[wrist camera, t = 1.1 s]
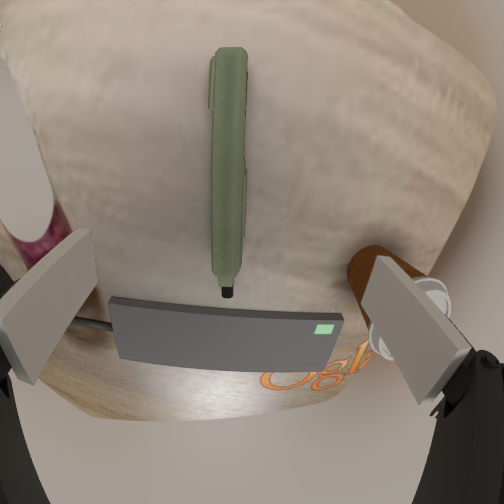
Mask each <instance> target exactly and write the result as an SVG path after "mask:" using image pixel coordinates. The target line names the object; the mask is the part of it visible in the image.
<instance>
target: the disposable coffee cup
mask: <svg viewBox="0 0 504 504" xmlns="http://www.w3.org/2000/svg"><path fill="white" fill-rule="evenodd" d="M377 255H378V256H388V257H391V258H392V259H393V260H394V261H395V262H396V263H397V264H398V265H399V266H400V267H401V268H402V269H403V270H404V271H405V272H406V273H407V274H408V275H409V276H410V277H411V279H412V280H413V281H414V282H415V283H416V284H417V285H418V286H419V287H420V288H421V289H422V290H423V291H424V292H425V293H426V294H427V296H428V297H429V298H430V299H431V300H432V301H433V302H434V303H435V304H436V305H437V307H438V308H439V309H440V310H441V311H442V312H443V313H444V314H445V315H446V316H447V317H448V318H449V317H450V313H451V301H450V298H449V296H448V292H447V289H446V287H445V285H444V284H443V283H442V282H441V281H439V280H438V279H436V278H430V277H427V276H426V275H424V274H423V273H421V272H420V271H418V270H417V269H415V268H414V267H412V266H410V265H409V264H407V263H406V262H404V261H403V260H401V259H400V258H398V257H397V256H395V255H394V254H392V253H390V252H389V251H387V250H386V249H384V248H382V247H380V246H370V247H366V248H364V249H362V250H361V251H359V252H358V253H357V254H356V255H355V256H354V257H353V259H352V260H351V262H350V264H349V267H348V272H347V277H348V280H349V283H350V285H351V287H352V290H353V292H354V295H355V297H356V300H357V302H358V304H359V307H360V309H361V312H362V315H363V317H364V320H365V322H366V325H367V328H368V330H369V335H368V337H369V343H370V345H371V347H372V349H373V350H374V351H375V352H376V353H378V354H380V355H382V356H383V357H384V358H386V359H388V360H393V361H394V359H393V357H392V355H391V354H390V352H389V350H388V348H387V347H386V345H385V343H384V342H383V340H382V338H381V337H380V335H379V333H378V331H377V330H376V328H375V326H374V325H373V323H372V322H371V320H370V318H369V317H368V315H367V313H366V312H365V310H364V308H363V307H362V305H361V301H362V298H363V296H364V293H365V290H366V287H367V284H368V282H369V279H370V276H371V273H372V270H373V267H374V264H375V261H376V257H377Z"/></svg>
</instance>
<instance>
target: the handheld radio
mask: <svg viewBox="0 0 504 504" xmlns="http://www.w3.org/2000/svg"><path fill="white" fill-rule="evenodd" d="M247 61H248V55H247V52H246V50H244V49H243V48H242V47H225V48H219V49H218V50H217V52H216V53H215V56H213V57H212V59H211V61H210V74H209V95H208V107H209V109H210V110H211V111H212V148H211V248H212V271H213V273H214V275H215V276H218V282H219V286H222V297H223V298H231V297H233V279H234V277H235V276H236V275H237V274H238V272H239V269H240V266H241V262H242V240H243V238H244V237H245V214H246V187H247V170H246V168H245V157H244V143H245V116H246V99H247V96H246V94H247V77H248V72H247Z"/></svg>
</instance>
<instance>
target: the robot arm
mask: <svg viewBox="0 0 504 504" xmlns="http://www.w3.org/2000/svg"><path fill="white" fill-rule="evenodd" d="M97 283H98V281H97V274H96V267H95V260H94V252H93V243H92V233H91V229H79V228H77V229H76V230H75V231H74V232H72V233H71V234H70V235H69V236H67V237H66V238H65V239H64V240H63V241H61V242H60V243H59V244H58V245H57V246H56V247H54V248H53V249H52V250H51V251H50V252H49V253H48V254H46V255H45V256H44V257H43V258H42V259H41V260H40V261H39V262H38V263H36V264H35V265H34V266H33V267H32V268H31V269H30V270H29V271H28V272H27V273H26V274H25V275H24V276H23V277H22V278H20V279H18V280H16V281H15V282H12V280H11V279H10V277H9V276H8V275H7V273H6V272H5V271H4V269H3V268H2V267H1V266H0V504H50V502H49V500H48V498H47V496H46V494H45V491H44V489H43V487H42V484H41V482H40V480H39V477H38V475H37V472H36V470H35V467H34V465H33V462H32V459H31V457H30V453H29V451H28V448H27V444H26V441H25V438H24V435H23V431H22V428H21V424H20V420H19V416H18V412H17V408H16V403H15V398H14V393H13V388H12V382H11V379H10V377H9V375H8V372H9V370H10V369H11V367H12V369H13V371H14V372H15V374H16V376H17V378H18V379H19V380H22V381H24V382H26V383H29V384H31V385H34V384H35V382H36V380H37V379H38V377H39V375H40V373H41V371H42V370H43V368H44V366H45V364H46V362H47V361H48V359H49V357H50V355H51V354H52V352H53V350H54V349H55V347H56V345H57V344H58V342H59V340H60V339H61V337H62V336H63V334H64V332H65V331H66V329H67V328H68V326H69V324H70V323H71V321H72V320H73V318H74V317H75V315H76V314H77V312H78V311H79V309H80V308H81V306H82V305H83V303H84V302H85V300H86V299H87V297H88V296H89V295H90V293H91V292H92V290H93V289H94V287H95V286H96V285H97ZM361 305H362V307H363V308H364V310H365V312H366V313H367V315H368V317H369V318H370V320H371V322H372V323H373V325H374V326H375V328H376V330H377V331H378V333H379V335H380V337H381V338H382V340H383V342H384V343H385V345H386V347H387V348H388V350H389V352H390V354H391V355H392V357H393V359H394V361H395V362H396V364H397V366H398V368H399V369H400V371H401V373H402V375H403V377H404V379H405V380H406V382H407V384H408V386H409V388H410V390H411V392H412V394H413V395H414V397H415V399H416V401H417V403H418V405H422V404H425V403H429V402H433V401H434V399H435V398H436V397H437V396H438V394H439V393H440V392H441V391H442V392H443V394H444V395H445V396H444V398H443V399H442V400H441V401H440V402H439V404H438V405H437V406H436V407H435V408H434V409H433V411H432V412H431V414H430V416H433V415H434V413H435V412H436V411H438V414H437V416H436V417H435V418H437V422H436V427H435V431H434V435H433V439H432V443H431V447H430V451H429V454H428V458H427V462H426V465H425V468H424V471H423V474H422V477H421V480H420V483H419V486H418V489H417V491H416V494H415V497H414V499H413V502H412V504H504V364H503V363H499V360H498V359H497V358H496V357H495V356H494V355H493V354H492V353H489V352H488V351H485V350H479V351H477V352H476V351H475V350H474V348H473V347H472V346H471V344H470V343H469V342H468V341H467V339H466V338H465V337H464V336H463V334H462V333H461V332H460V331H458V328H457V327H456V326H455V325H454V324H453V323H452V322H451V320H450V319H449V318H448V317H447V316H446V315H445V314H444V313H443V312H442V311H441V310H440V309H439V308H438V307H437V305H436V304H435V303H434V302H433V301H432V300H431V299H430V298H429V297H428V296H427V294H426V293H425V292H424V291H423V290H422V289H421V288H420V287H419V286H418V285H417V284H416V283H415V282H414V281H413V280H412V279H411V277H410V276H409V275H408V274H407V273H406V272H405V271H404V270H403V269H402V268H401V267H400V266H399V265H398V264H397V263H396V262H395V261H394V260H393V259H392V258H391V257H388V256H378V255H377V257H376V261H375V264H374V267H373V270H372V273H371V276H370V279H369V282H368V284H367V287H366V290H365V293H364V296H363V298H362V301H361Z"/></svg>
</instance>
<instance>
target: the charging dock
mask: <svg viewBox="0 0 504 504" xmlns="http://www.w3.org/2000/svg"><path fill="white" fill-rule="evenodd" d="M108 307H109V312H110V318H111V322H112V324H107V323H102V322H96V321H90V320H85V319H80V318H75V317H74V318H73V320H72V321H71V323H70V324H75V325H80V326H85V327H90V328H95V329H101V330H106V331H112V332H114V336H115V341H116V345H117V349H118V353H119V357H120V359H126V360H132V361H138V362H145V363H152V364H159V365H167V366H175V367H185V368H195V369H207V370H221V371H240V372H318V371H324V369H325V367H326V364H327V362H328V360H329V358H330V355H331V353H332V350H333V348H334V346H335V343H336V341H337V338H338V336H339V333H340V331H341V328H342V325H343V323H344V319H343V317H342V315H341V313H298V312H274V311H255V310H239V309H225V308H212V307H200V306H189V305H179V304H169V303H160V302H151V301H143V300H135V299H127V298H119V297H111V298H110V300H109V302H108Z"/></svg>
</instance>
